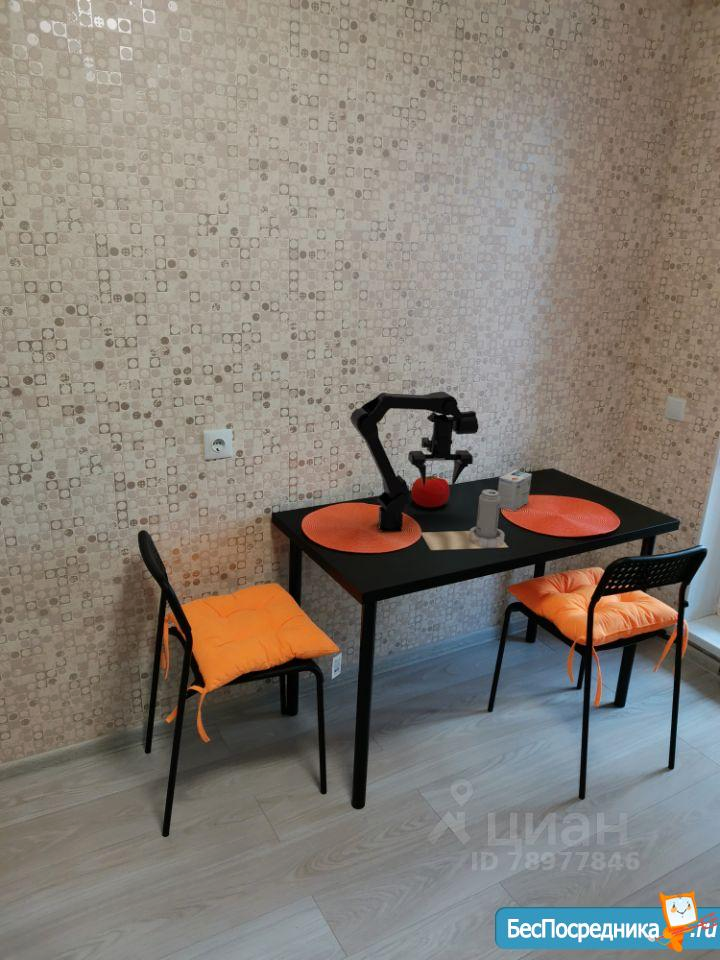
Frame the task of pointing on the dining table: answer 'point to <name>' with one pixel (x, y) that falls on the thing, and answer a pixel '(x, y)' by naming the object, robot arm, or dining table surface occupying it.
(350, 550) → the dining table surface
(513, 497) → the light bulb box
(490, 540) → the ring clip
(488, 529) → the energy drink can
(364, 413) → the robot arm
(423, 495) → the tomato
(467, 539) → the plate
